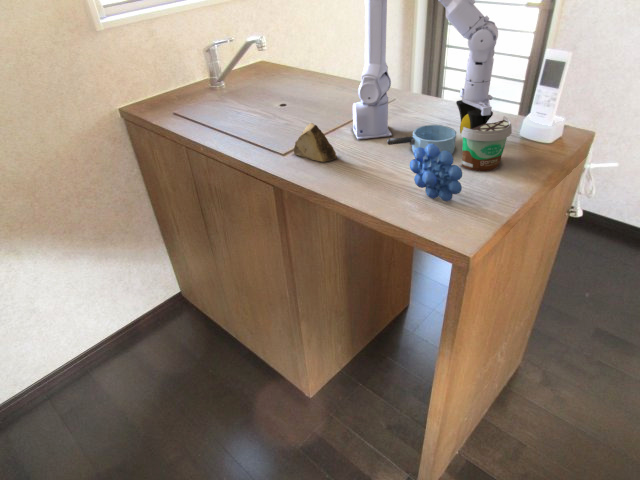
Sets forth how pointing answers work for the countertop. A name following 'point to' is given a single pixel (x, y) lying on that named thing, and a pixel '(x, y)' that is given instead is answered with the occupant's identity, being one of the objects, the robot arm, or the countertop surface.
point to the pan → (435, 137)
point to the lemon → (465, 123)
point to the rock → (314, 145)
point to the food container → (485, 145)
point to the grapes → (436, 172)
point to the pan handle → (401, 140)
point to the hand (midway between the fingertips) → (470, 133)
